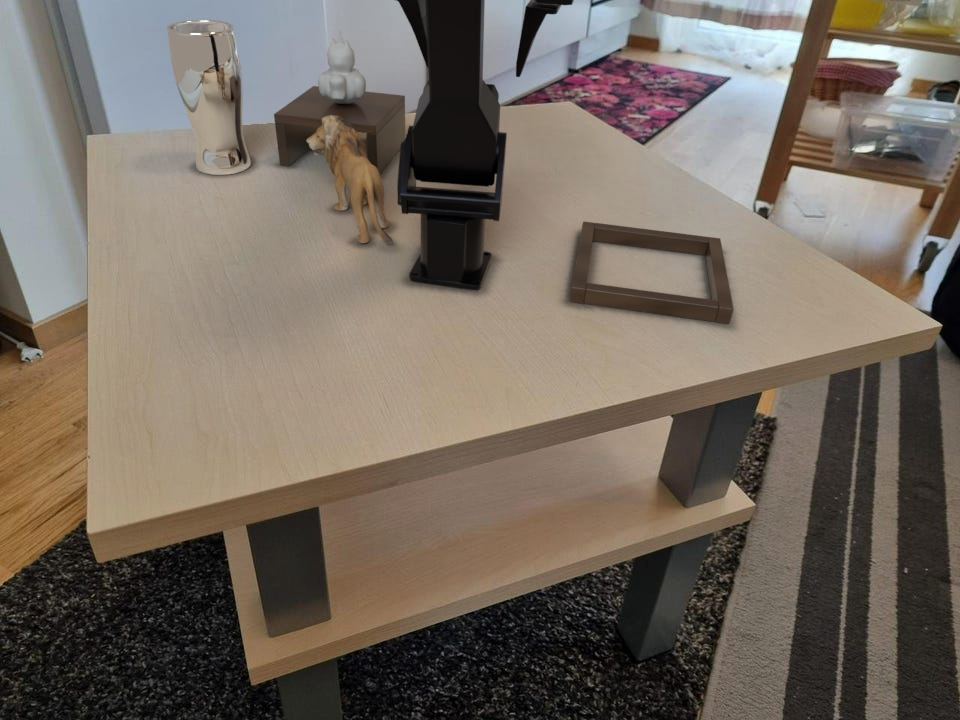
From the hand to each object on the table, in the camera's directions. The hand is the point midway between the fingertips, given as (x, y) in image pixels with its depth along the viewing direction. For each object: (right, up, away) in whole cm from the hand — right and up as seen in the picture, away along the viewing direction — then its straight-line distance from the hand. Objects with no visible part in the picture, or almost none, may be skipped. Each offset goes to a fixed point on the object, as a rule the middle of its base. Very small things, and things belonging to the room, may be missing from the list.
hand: (473, 71), depth 73 cm
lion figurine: (-12, -15, +1) cm, 19 cm away
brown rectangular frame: (+16, -21, -6) cm, 28 cm away
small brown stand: (-16, -4, +15) cm, 22 cm away
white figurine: (-16, +1, +12) cm, 20 cm away
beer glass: (-29, -7, +11) cm, 32 cm away
